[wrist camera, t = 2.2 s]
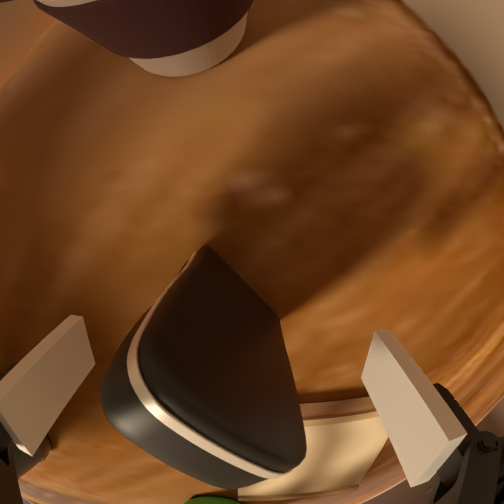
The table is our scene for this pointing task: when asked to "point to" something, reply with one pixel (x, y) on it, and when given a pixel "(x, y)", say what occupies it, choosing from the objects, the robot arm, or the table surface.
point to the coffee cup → (158, 30)
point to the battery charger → (208, 381)
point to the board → (328, 452)
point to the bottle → (211, 500)
